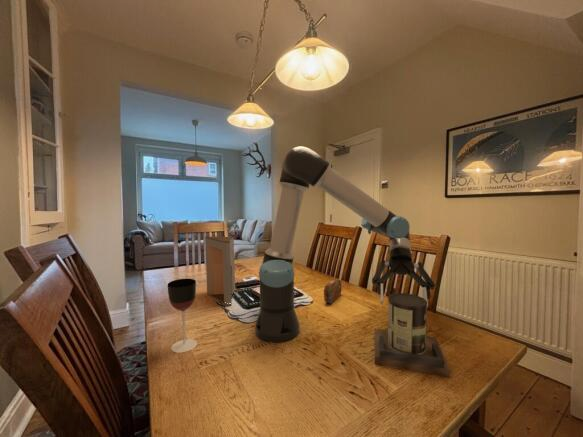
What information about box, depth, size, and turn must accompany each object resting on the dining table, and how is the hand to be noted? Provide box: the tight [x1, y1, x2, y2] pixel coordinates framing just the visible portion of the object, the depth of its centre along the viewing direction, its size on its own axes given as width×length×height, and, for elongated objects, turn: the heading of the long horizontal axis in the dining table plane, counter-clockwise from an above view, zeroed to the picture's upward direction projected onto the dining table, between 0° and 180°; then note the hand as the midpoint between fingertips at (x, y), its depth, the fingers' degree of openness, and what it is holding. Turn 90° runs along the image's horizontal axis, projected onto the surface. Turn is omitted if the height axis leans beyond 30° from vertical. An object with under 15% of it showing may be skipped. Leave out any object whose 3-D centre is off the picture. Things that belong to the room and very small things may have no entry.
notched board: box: [374, 328, 451, 378], centre depth 75 cm, size 18×16×4 cm
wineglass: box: [167, 278, 198, 354], centre depth 79 cm, size 8×9×20 cm
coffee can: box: [387, 292, 428, 355], centre depth 74 cm, size 10×10×14 cm
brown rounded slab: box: [323, 279, 342, 305], centre depth 115 cm, size 15×3×8 cm, turn 148°
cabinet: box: [204, 236, 236, 308], centre depth 119 cm, size 21×10×28 cm, turn 42°
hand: (403, 305), depth 85 cm, fingers open, 13 cm apart
